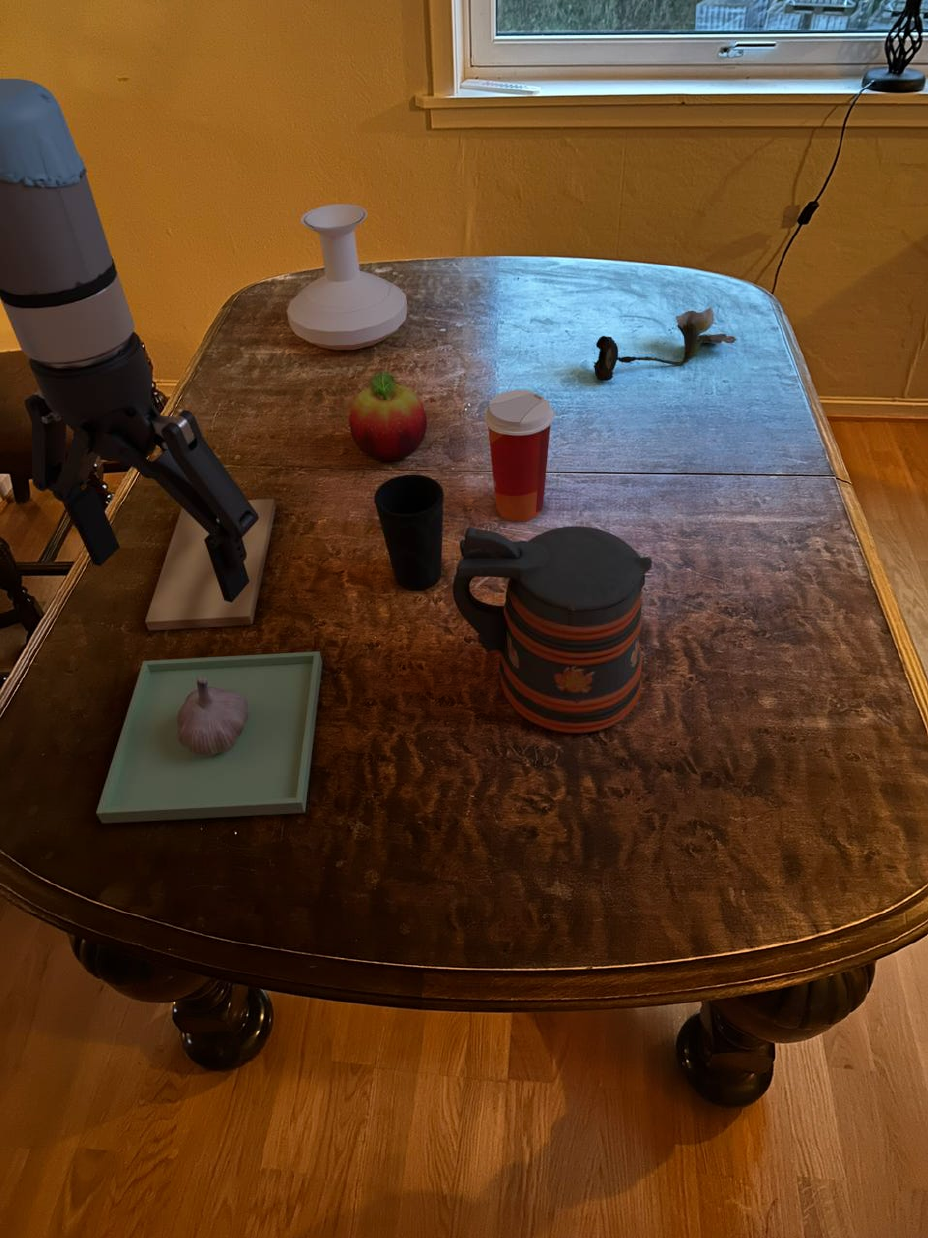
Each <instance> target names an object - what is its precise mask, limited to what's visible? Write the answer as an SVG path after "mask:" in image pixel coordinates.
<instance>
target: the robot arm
mask: <svg viewBox="0 0 928 1238" xmlns="http://www.w3.org/2000/svg"><path fill="white" fill-rule="evenodd" d="M0 302H1V304H2V307H3V308H4V311H5V314H6V316H7V318H8V321H9V323H10V325H11V328H12V330H13V333H14V336H15V337H16V340H17V342H18V345H19V347H20V350H21V352H23V353H24V355H26V356H27V358H29V361H28V364H29V367H30V370H31V371H32V375H33V377H34V379H35V382H36V383H37V386H38V388H39V389H38V390H37V391H35V392H34V393H33V394H31V395H30V396H28V397H27V398H26V399H24V407H25V408H26V412H27V414H28V417H29V420H30V423H31V463H32V464H31V473H32V474H31V475H32V477H31V479H32V480H31V481H32V482H31V483H32V485H33V486H34V487H35V489H37V490H38V491H40V492H45V491H47V490H49V491H50V492H52V495H53V496H54V498H55V499H56V500H57V501H59V502H61V503H62V504H63V507H64V509H65V511H66V513H67V516H68V518H69V520H70V521H71V524H72V525H73V526H74V527H75V528H76V530H77V532H78V534H79V536H80V538H81V541H82V542H83V545H84V547H85V549H86V552H87V554H88V555H89V558H90V560H91V562H92V565H94V566H98V567H102V565H104V563H106V562H107V561H108V560H109V559H110V558H111V557H112V556H113V555H114V554H115V553H116V552H117V551H118V550H120V548H121V546H120V544H119V542H118V540H117V537H116V534H115V532H114V530H113V528H112V527H113V526H112V525H111V523H110V521H109V518H108V515H107V513H106V511H105V509H104V506H103V504H102V502H101V499H100V497H99V494H98V492H97V490H96V488H95V487H93V486H88V485H87V486H86V487H85V488H84V489H83V488H82V487H83V486H85V484H87V483H88V482H89V481H90V480H91V478H89V476H90V474H91V472H92V469H93V467H94V465H95V463H96V461H97V459H98V458H99V459H100V461H105V462H117V463H119V464H121V465H124V466H127V467H132V468H134V469H135V470H136V471H137V472H138V473H139V474H140V475H141V476H142V477H144V478H145V479H152V480H154V481H155V482H156V483H157V484H158V485H159V486H160V487H161V488H162V489H163V490H164V491H165V492H166V493H167V494H168V495H169V496H170V497H171V498H172V499H174V501H175V502H176V503H177V504H178V505H179V506H181V508H182V507H183V508H184V509H185V510H186V511H187V512H188V513H189V514H190V515H191V516H192V517H193V518H194V519H195V520H196V521H197V522H198V523H199V524H200V525H201V526H202V527H203V528H204V529H205V530H206V531H207V532H208V533H209V535H208V536H207V537H206V538H205V539H204V541H205V544H206V547H207V550H208V553H209V556H210V559H211V562H212V565H213V568H214V571H215V574H216V577H217V580H218V583H219V586H220V589H221V592H222V595H223V598H224V601H228V602H233V601H234V600H235V598H236V597H237V596H238V595H239V594H240V592H241V591H242V590H243V589H244V588H245V587H246V585H247V584H248V583H249V582H250V581H249V578H248V575H247V571H246V568H245V565H244V560H245V559H246V557H247V553H246V549H245V546H244V543H243V539H242V537H243V536H244V535H245V534H246V533H247V532H248V531H249V530H250V528H251V527H252V526H253V525H254V524H255V523H256V522H257V521H258V519H259V516H258V514H257V512H256V511H255V510H254V508H253V507H252V505H251V504H250V503H249V501H248V500H249V499H248V498H247V497H246V496H245V494H244V493H243V491H242V490H241V488H240V487H239V486H238V484H237V483H236V481H235V480H234V479H233V477H232V476H231V475H230V473H229V472H228V470H227V469H226V468H225V466H224V465H223V464H222V462H221V460H220V459H219V458H218V456H217V455H216V453H215V452H214V451H213V450H212V448H211V446H210V445H209V444H208V443H207V441H206V440H205V439H204V436H203V433H202V431H201V428H200V426H199V424H198V421H197V419H196V416H195V415H194V414H193V413H192V412H191V411H190V410H187V409H183V410H182V411H181V412H180V413H179V414H177V415H176V416H169V415H162V414H161V413H160V411H159V410H158V409H157V407H156V406H155V404H154V403H153V401H152V388H153V387H152V386H153V373H152V370H151V368H150V364H149V361H148V358H147V355H146V352H145V350H144V347H143V343H142V341H141V337H140V335H138V333H137V332H135V321H134V319H133V315H132V312H131V309H130V306H129V302H128V300H127V297H126V294H125V291H124V288H123V285H122V282H121V278H120V276H119V271H118V270H117V267H116V264H115V260H114V258H113V255H112V253H111V250H110V246H109V244H108V240H107V237H106V234H105V230H104V228H103V224H102V220H101V217H100V214H99V211H98V207H97V203H96V201H95V198H94V195H93V192H92V189H91V186H90V183H89V179H88V176H87V168H86V165H85V162H84V159H83V158H82V156H81V155H80V154H79V151H78V148H77V146H76V143H75V141H74V139H73V136H72V134H71V130H70V128H69V125H68V123H67V120H66V118H65V115H64V113H63V110H62V108H61V105H60V103H59V101H58V100H57V98H56V97H55V96H54V94H53V93H52V92H51V91H50V90H49V89H48V88H46V87H45V86H44V85H42V84H40V83H37V82H35V81H32V80H28V79H23V78H0ZM67 427H69V429H70V430H71V431H72V432H73V433H72V439H71V441H70V444H69V446H68V449H66V448H67V447H66V446H67ZM156 447H158V448H159V449H160V450H161V453H160V454H159V456H157V458H156V459H154V460H153V461H151V460H149V459H148V458H149V457H151V456H152V454H153V453H154V451H155V449H156ZM66 452H67V454H68V455H67V457H66ZM217 518H218V520H219V522H217Z"/></svg>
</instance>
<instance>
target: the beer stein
mask: <svg viewBox="0 0 928 1238" xmlns="http://www.w3.org/2000/svg"><path fill="white" fill-rule="evenodd" d="M459 551H460V554H461V557H462V559H460V560H459V561H458V564H457V565H456V569H455V571H456V573H455V575H454V579H453V581H452V596H453V600H454V603H455V606H456V607H457V610H458V611H459V613H460V614H461V615H462V617H463V618H464V620H465V621H466V622H467V623H468V625H469V626H470V627H471V628H472V629H473V630H474V631H475V632H476V633H477V634H478V636H477V644H478V645H479V647H481V648H483V649H485V651H486V652H487V653H490V652H491V651H498V653H499V661H498V662H499V663H498V665H499V668H498V672H499V675H500V683H501V687H502V690H503V694H504V696H505V697H506V699H507V701H508V702H509V703H510V705H511V707H513V708H514V710H516V711H517V713H518V714H520V716H522V717H523V718H524V719H525V720H526V721H528V722H531V723H533V724H535V725H537V726H539V727H541V728H544V729H547V730H551V731H553V732H554V731H555V732H559V733H564V734H565V733H566V734H589V733H595V732H599V731H603V730H605V729H608V728H610V727H612V726H615V725H616V724H618V723H619V722H620V721H622V720H623V719H625V718H626V716H627V715H629V714H630V712H631V711H632V710H633V708H635V706H636V704H637V703H638V701H639V698H640V696H641V692H642V689H643V679H642V671H643V670H642V668H643V655H642V648H641V643H640V641H639V640H640V639H639V638H640V637H639V634H640V632H641V629H642V621H643V620H642V619H643V618H642V617H643V612H642V611H643V609H642V608H643V607H642V605H643V603H642V597H643V587H644V586H645V583H646V574H647V573H648V572H649V571H650V570H651V569H652V563H653V559H652V558H651V557H648V556H647V557H646V556H645V557H641V555H639V553H638V552H637V551H636V550H635V549H634V548H633V547H632V546H631V545H630V544H629V543H627V542H626V541H624V540H623V539H622V538H620V537H619V536H617V535H615V534H613V533H611V532H609V531H606V530H603V529H600V528H596V527H591V526H584V525H583V526H582V525H573V526H572V525H571V526H562V527H558V528H557V527H556V528H552V529H550V530H546V531H543V532H542V533H540V534H537V535H536V536H534V537H532V538H530V539H529V540H527V541H526V540H518V541H512V540H510V539H509V538H508V537H506V536H504V535H503V534H500V533H497V532H495V531H493V530H488V529H487V530H486V529H476V528H474V527H472V526H470V527H467V528H466V529H465V533H464V539H461V540H460V541H459ZM476 577H477V578H501V579H502V578H503V579H504V578H505V579H508V581H507V584H506V585H507V587H506V591H505V597H504V598H505V601H504V604H503V605H497V604H496V605H495V604H490V603H487V602H483V601H482V600H479V599H478V598H476V596H474V595H473V594H472V592H471V589H470V586H471V582H472V580H473V579H474V578H476Z"/></svg>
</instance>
